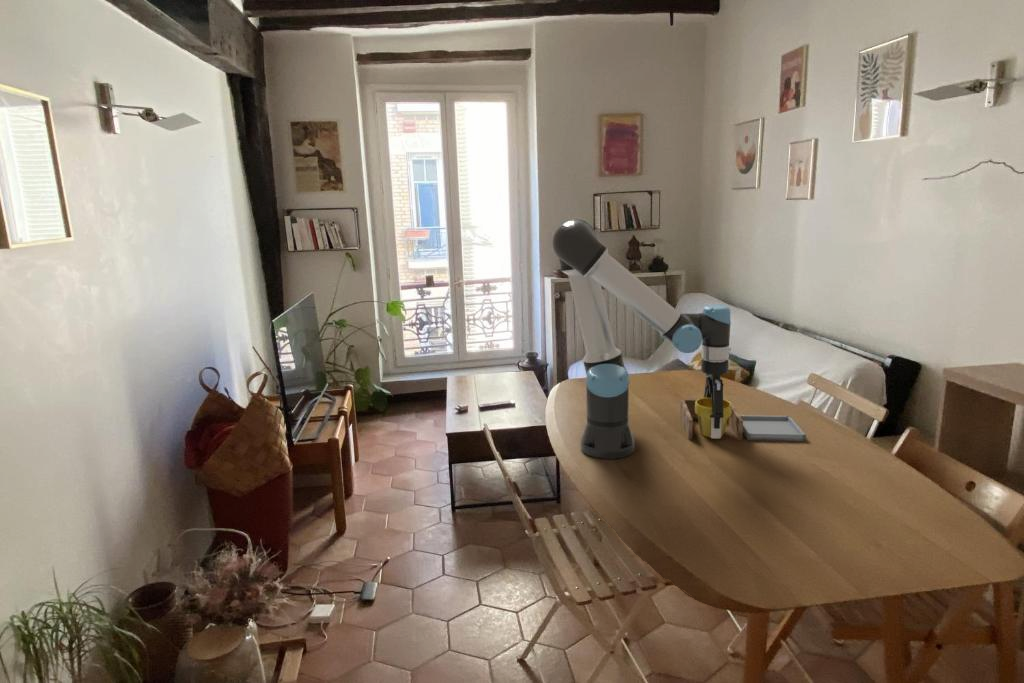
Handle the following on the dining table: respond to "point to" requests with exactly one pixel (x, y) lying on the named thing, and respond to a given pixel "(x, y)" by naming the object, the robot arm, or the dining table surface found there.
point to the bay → (689, 413)
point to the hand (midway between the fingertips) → (712, 430)
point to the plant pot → (705, 410)
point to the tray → (771, 428)
